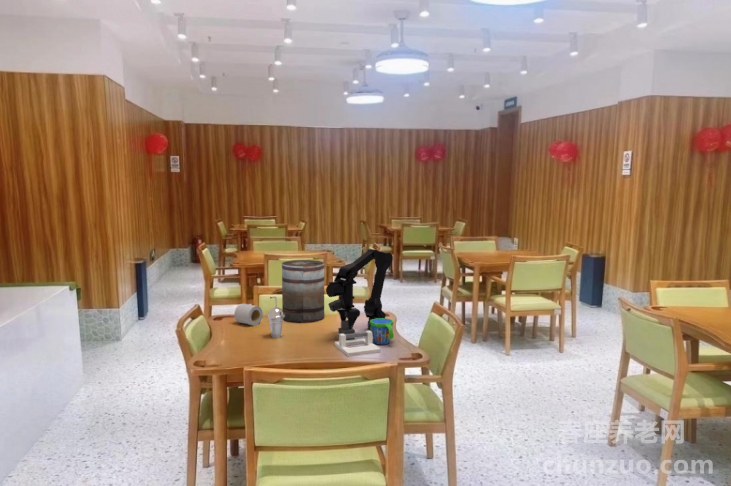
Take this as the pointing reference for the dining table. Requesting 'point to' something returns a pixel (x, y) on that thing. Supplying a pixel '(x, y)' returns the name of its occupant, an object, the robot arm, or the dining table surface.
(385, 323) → the snack cup
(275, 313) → the cup with straw
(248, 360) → the dining table surface
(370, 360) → the dining table surface
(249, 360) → the dining table surface
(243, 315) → the toilet paper
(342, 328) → the bracket
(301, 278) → the barrel
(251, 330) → the dining table surface
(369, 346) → the white square base
